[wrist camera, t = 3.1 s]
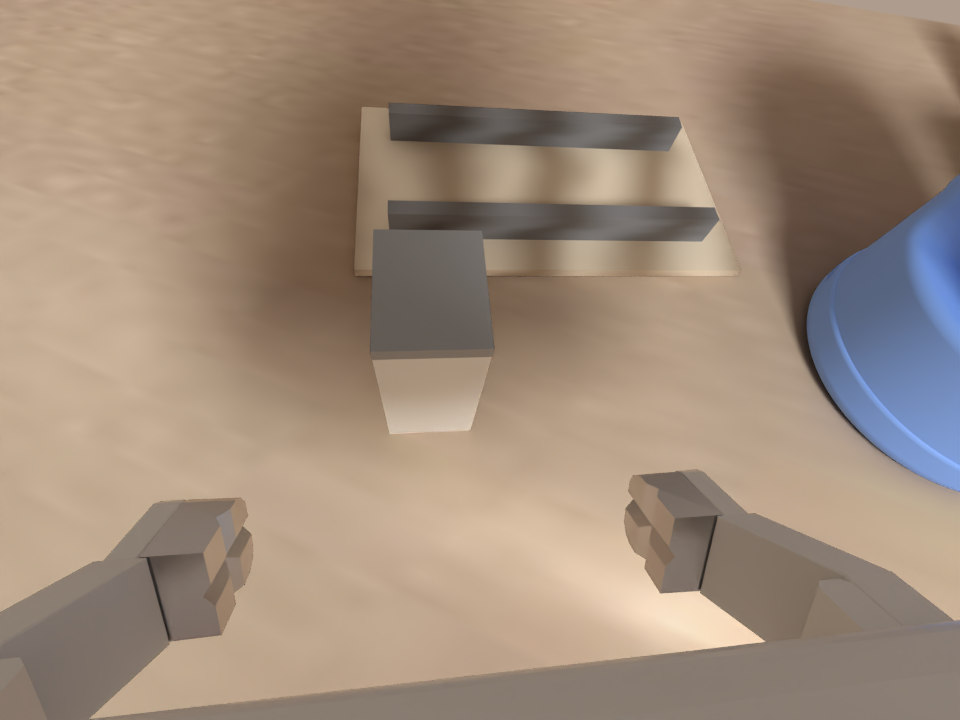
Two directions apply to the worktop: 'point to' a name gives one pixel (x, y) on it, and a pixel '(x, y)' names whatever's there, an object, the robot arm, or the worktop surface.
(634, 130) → the rail board
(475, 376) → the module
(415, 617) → the worktop surface
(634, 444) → the worktop surface
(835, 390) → the water jug
